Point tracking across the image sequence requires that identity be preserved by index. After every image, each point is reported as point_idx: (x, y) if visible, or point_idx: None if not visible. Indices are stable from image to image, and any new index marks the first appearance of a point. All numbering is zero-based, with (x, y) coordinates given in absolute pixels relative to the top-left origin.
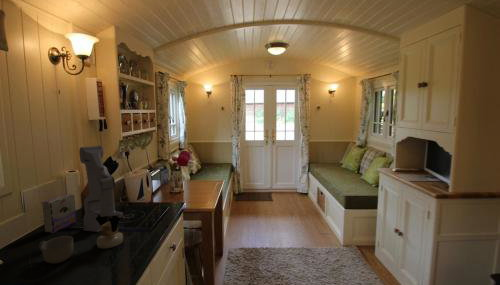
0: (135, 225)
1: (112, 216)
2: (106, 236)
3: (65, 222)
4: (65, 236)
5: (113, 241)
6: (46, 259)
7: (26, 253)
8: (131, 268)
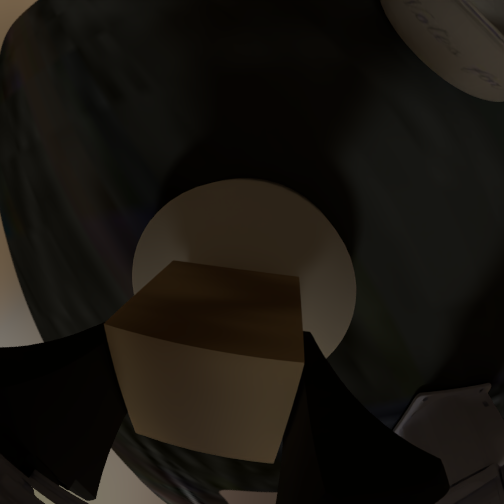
0: None
1: (15, 462)
2: (230, 268)
3: None
4: None
5: (147, 226)
6: None
7: None
8: (10, 68)
